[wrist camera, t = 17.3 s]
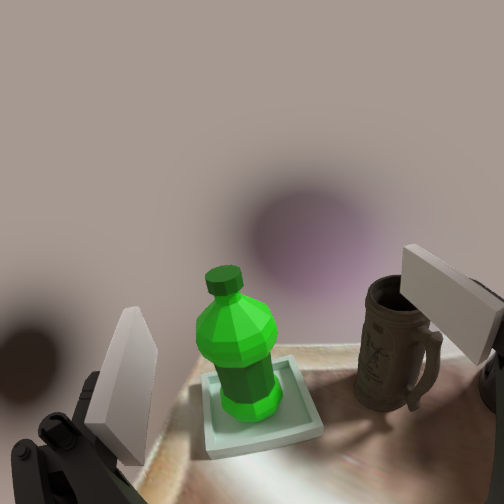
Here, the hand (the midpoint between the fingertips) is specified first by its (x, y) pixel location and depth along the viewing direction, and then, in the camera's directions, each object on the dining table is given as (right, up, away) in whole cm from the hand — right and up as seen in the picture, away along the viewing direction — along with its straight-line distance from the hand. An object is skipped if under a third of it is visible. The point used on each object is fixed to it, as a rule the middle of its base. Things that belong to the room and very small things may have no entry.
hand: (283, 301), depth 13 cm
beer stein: (+22, -22, +27) cm, 41 cm away
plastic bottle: (-1, -23, +30) cm, 38 cm away
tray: (-1, -24, +30) cm, 38 cm away
